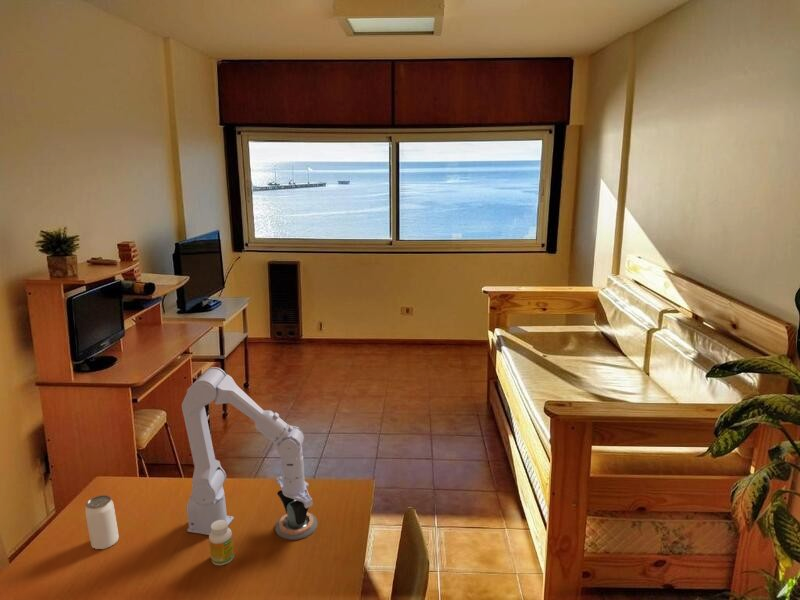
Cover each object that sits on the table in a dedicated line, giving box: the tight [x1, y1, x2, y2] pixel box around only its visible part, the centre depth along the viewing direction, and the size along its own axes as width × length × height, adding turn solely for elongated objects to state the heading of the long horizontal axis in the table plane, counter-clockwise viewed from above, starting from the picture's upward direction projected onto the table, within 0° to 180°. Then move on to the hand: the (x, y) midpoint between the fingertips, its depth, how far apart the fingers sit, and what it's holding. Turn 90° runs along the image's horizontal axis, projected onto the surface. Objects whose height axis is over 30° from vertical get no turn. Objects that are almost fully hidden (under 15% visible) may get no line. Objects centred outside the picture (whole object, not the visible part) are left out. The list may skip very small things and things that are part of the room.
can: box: [84, 494, 120, 550], centre depth 148 cm, size 6×6×12 cm
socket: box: [274, 511, 318, 541], centre depth 154 cm, size 11×11×2 cm
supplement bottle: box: [208, 520, 235, 566], centre depth 142 cm, size 5×5×10 cm
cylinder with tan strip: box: [286, 500, 305, 529], centre depth 154 cm, size 5×4×6 cm
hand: (296, 518), depth 154 cm, fingers closed on cylinder with tan strip, 4 cm apart
